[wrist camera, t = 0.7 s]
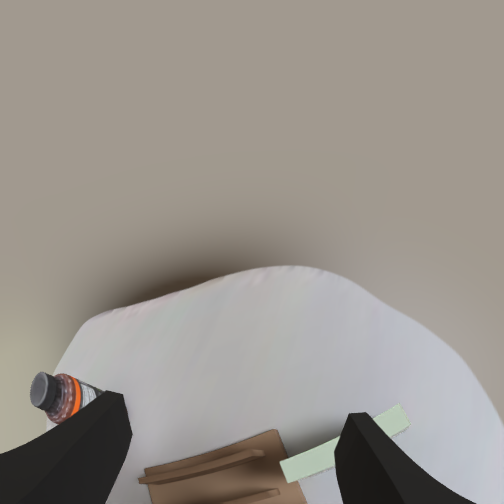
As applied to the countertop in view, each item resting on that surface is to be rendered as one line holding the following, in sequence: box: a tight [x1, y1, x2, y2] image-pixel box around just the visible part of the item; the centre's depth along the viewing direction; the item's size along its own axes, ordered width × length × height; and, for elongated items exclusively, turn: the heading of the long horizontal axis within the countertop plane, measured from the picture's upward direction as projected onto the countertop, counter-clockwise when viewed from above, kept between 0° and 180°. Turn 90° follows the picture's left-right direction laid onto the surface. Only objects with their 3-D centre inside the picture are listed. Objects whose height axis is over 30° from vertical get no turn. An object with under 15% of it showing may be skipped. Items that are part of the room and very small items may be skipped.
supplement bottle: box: [30, 372, 128, 424], centre depth 26 cm, size 6×6×11 cm
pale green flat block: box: [280, 403, 411, 483], centre depth 16 cm, size 2×8×7 cm, turn 109°
